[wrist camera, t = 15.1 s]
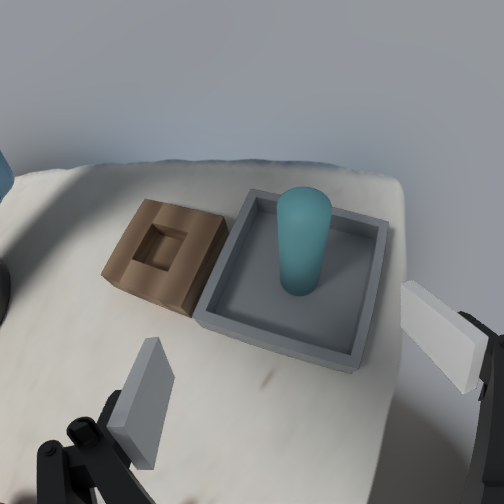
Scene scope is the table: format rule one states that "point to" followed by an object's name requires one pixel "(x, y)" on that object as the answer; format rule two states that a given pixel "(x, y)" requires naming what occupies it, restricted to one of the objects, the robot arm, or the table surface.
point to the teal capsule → (302, 238)
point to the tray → (289, 306)
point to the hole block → (167, 255)
